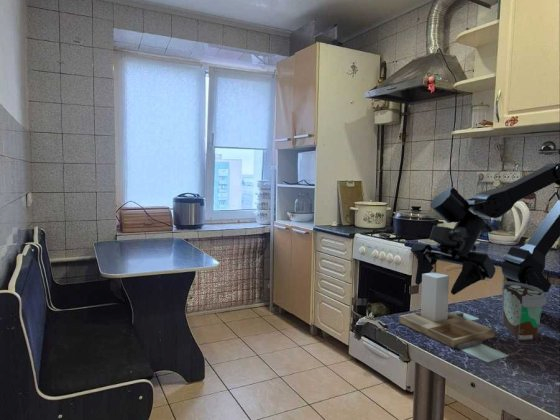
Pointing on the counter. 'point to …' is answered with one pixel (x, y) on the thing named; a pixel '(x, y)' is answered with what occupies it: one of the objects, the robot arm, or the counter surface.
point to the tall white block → (434, 296)
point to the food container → (522, 309)
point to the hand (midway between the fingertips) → (433, 288)
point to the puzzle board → (456, 333)
